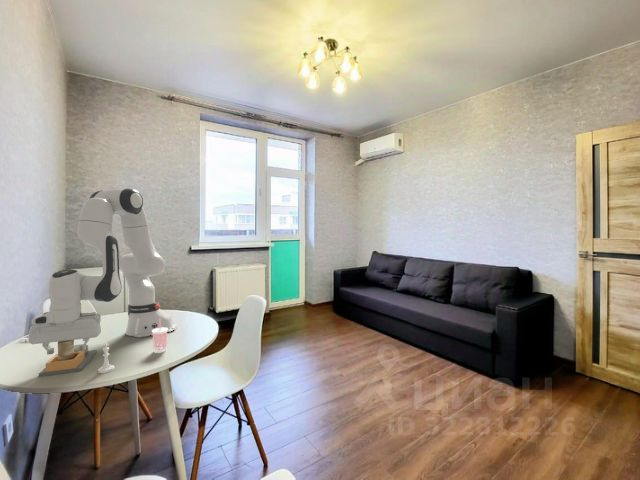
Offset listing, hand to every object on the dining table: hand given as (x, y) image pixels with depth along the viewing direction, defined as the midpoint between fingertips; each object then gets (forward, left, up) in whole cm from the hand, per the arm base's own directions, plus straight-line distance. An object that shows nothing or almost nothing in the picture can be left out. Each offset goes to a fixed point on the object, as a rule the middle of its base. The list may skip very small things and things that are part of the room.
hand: (67, 351), depth 107 cm
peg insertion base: (0, -4, -6) cm, 7 cm away
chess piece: (-14, +7, -6) cm, 17 cm away
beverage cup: (-30, -5, -6) cm, 31 cm away
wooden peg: (0, 0, -5) cm, 5 cm away
